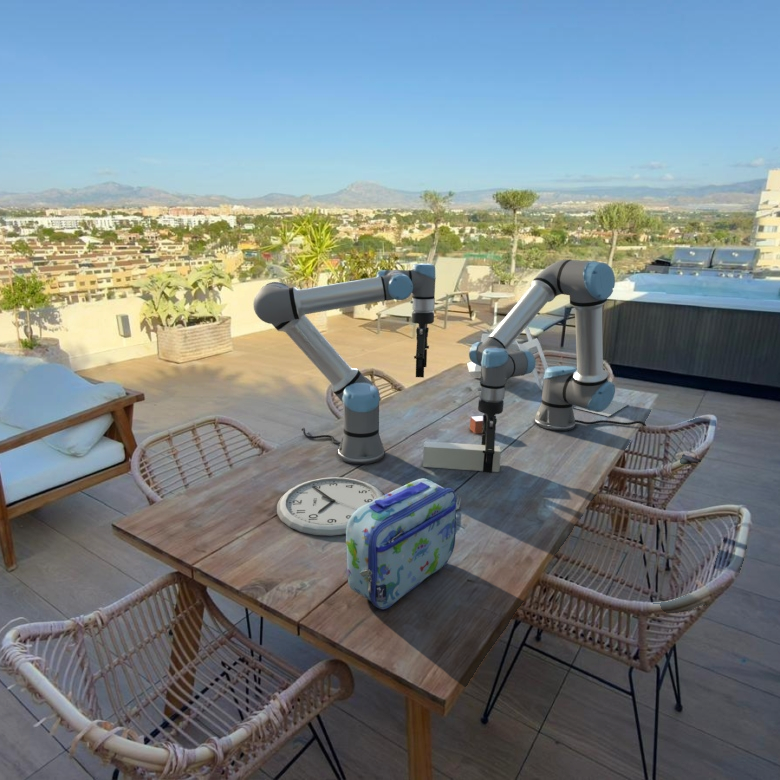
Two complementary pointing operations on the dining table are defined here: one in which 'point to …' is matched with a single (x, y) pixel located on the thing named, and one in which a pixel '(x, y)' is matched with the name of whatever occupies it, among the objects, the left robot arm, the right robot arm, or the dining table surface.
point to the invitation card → (607, 409)
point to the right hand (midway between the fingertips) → (486, 462)
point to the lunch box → (400, 540)
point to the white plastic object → (530, 346)
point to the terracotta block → (476, 424)
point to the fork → (458, 504)
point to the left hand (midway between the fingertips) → (421, 371)
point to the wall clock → (324, 504)
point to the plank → (458, 456)
